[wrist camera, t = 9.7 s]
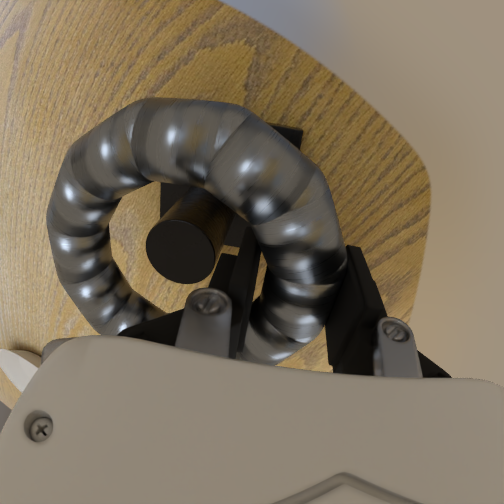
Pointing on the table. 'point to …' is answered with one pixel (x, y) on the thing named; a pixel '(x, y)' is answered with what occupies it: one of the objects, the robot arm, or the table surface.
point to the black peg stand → (197, 227)
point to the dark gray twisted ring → (222, 187)
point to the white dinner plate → (19, 366)
